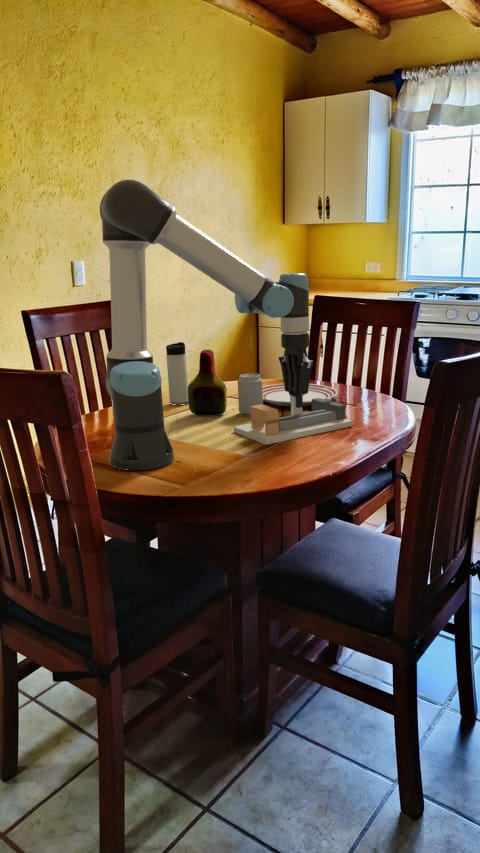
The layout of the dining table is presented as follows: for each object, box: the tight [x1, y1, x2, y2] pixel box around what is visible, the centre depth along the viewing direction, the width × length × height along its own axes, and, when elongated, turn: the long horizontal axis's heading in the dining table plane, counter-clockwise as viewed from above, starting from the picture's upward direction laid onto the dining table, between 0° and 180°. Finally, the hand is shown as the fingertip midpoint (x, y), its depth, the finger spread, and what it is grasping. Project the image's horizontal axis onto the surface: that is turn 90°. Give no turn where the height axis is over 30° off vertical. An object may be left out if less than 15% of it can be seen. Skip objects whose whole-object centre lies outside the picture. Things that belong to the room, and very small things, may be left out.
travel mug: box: [165, 341, 189, 405], centre depth 218 cm, size 6×7×20 cm
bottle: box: [188, 349, 228, 417], centre depth 201 cm, size 12×6×20 cm, turn 77°
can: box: [237, 373, 264, 417], centre depth 202 cm, size 8×8×12 cm
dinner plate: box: [262, 383, 339, 407], centre depth 219 cm, size 27×27×3 cm
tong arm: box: [278, 409, 327, 421], centre depth 183 cm, size 17×2×2 cm, turn 121°
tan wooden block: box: [250, 404, 279, 435], centre depth 176 cm, size 4×8×6 cm, turn 31°
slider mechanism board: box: [233, 398, 353, 445], centre depth 183 cm, size 28×16×6 cm, turn 121°
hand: (296, 418), depth 184 cm, fingers closed
